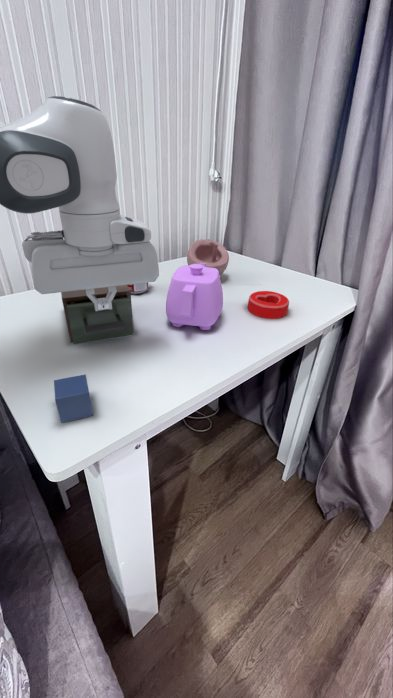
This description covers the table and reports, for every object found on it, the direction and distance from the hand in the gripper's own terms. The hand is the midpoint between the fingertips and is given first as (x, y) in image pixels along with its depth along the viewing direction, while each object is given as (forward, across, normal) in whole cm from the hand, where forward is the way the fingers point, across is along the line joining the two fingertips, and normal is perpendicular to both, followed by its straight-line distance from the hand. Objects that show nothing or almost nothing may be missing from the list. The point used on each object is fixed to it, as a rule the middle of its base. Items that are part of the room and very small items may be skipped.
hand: (103, 309), depth 59 cm
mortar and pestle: (+9, +34, +30) cm, 46 cm away
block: (+9, -7, -15) cm, 19 cm away
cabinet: (+9, 0, +12) cm, 15 cm away
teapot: (+9, +21, +7) cm, 24 cm away
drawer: (+8, 0, +7) cm, 11 cm away
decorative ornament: (+9, +40, +6) cm, 41 cm away
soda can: (+9, +12, +27) cm, 31 cm away
